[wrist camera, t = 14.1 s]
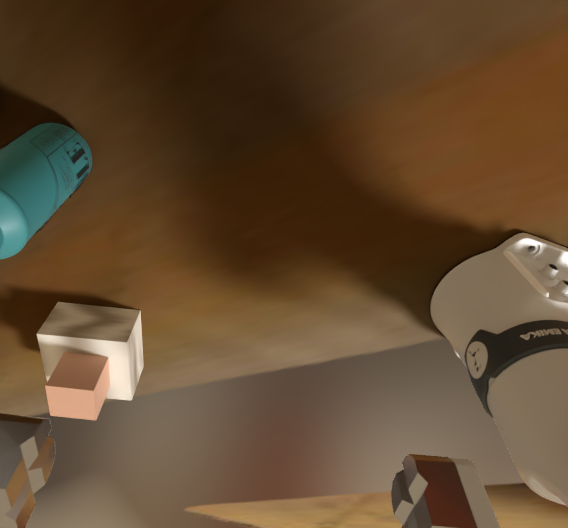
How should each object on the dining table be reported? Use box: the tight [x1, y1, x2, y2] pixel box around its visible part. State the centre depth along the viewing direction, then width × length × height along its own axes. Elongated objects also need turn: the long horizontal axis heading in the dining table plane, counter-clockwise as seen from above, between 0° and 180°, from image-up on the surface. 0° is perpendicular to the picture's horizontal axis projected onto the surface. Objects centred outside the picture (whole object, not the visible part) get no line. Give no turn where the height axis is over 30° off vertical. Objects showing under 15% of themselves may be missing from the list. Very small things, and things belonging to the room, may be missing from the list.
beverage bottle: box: [0, 123, 92, 259], centre depth 36 cm, size 6×7×20 cm
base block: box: [37, 302, 143, 400], centre depth 56 cm, size 10×10×6 cm
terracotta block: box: [45, 352, 110, 420], centre depth 51 cm, size 5×5×5 cm
